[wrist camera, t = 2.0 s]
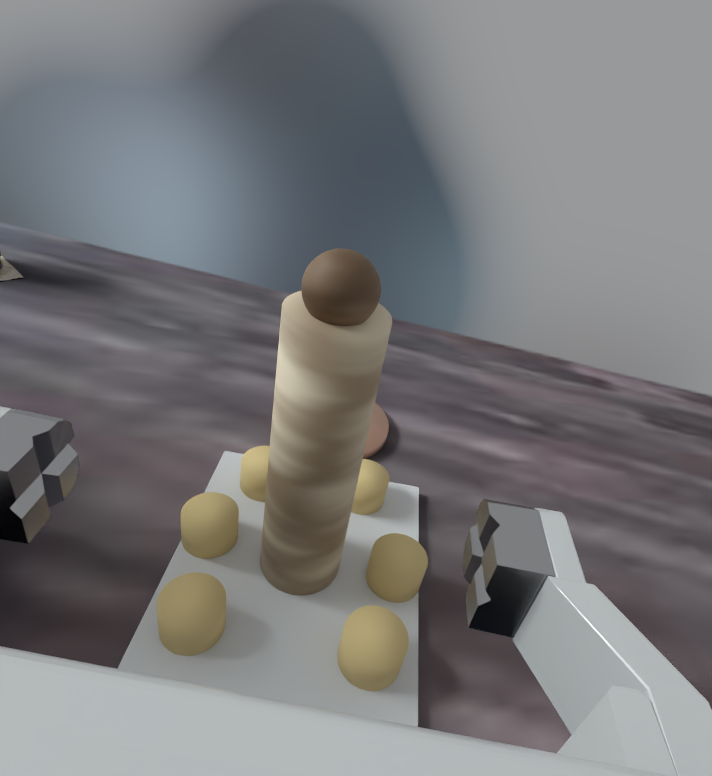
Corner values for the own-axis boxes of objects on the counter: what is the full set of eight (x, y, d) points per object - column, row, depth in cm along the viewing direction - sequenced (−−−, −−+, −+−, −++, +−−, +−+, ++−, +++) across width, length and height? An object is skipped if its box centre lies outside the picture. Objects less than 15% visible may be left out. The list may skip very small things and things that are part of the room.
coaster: (264, 450, 39) (264, 441, 38) (289, 385, 46) (290, 378, 46) (383, 472, 39) (385, 464, 38) (389, 404, 46) (391, 397, 46)
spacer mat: (113, 681, 24) (107, 650, 23) (223, 456, 37) (223, 428, 36) (417, 739, 24) (430, 711, 23) (418, 493, 37) (426, 466, 36)
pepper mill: (250, 586, 28) (274, 259, 18) (270, 523, 32) (300, 223, 22) (333, 602, 28) (403, 284, 18) (343, 537, 32) (406, 244, 22)
